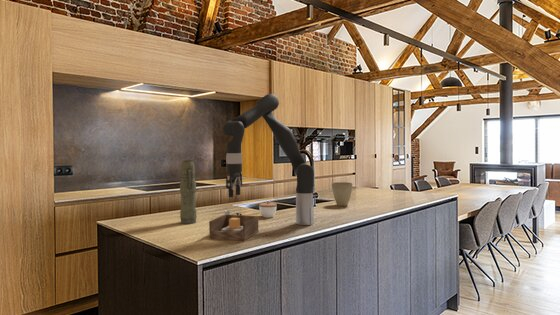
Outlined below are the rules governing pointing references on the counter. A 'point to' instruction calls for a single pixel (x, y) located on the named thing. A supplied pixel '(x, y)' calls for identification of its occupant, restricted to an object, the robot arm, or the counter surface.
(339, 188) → the plant pot
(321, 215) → the counter surface
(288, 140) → the robot arm
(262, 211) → the lidded jar
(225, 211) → the valve
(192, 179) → the thermos
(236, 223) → the orange rectangular block
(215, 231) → the inlet box
